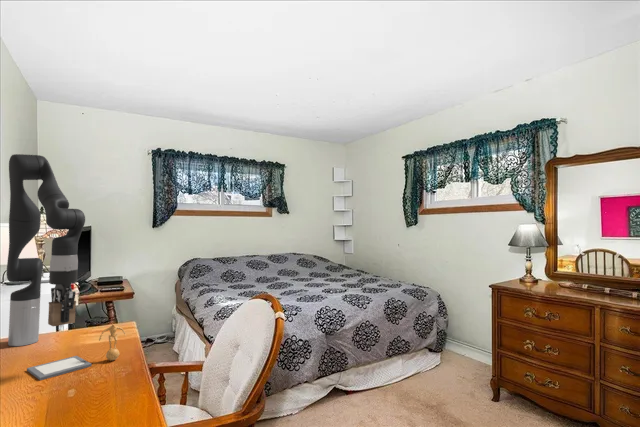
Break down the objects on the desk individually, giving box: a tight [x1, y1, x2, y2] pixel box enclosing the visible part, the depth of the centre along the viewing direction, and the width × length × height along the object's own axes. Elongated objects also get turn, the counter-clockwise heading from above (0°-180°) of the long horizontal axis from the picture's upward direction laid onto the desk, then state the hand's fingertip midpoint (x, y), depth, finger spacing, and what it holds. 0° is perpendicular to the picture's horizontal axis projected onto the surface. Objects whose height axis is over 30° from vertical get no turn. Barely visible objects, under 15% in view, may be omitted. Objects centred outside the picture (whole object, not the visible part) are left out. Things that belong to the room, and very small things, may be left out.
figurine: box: [98, 324, 127, 361], centre depth 125 cm, size 8×6×12 cm
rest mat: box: [26, 355, 93, 381], centre depth 116 cm, size 12×14×1 cm
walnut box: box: [47, 300, 77, 327], centre depth 117 cm, size 5×6×7 cm
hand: (61, 320), depth 117 cm, fingers closed on walnut box, 4 cm apart
